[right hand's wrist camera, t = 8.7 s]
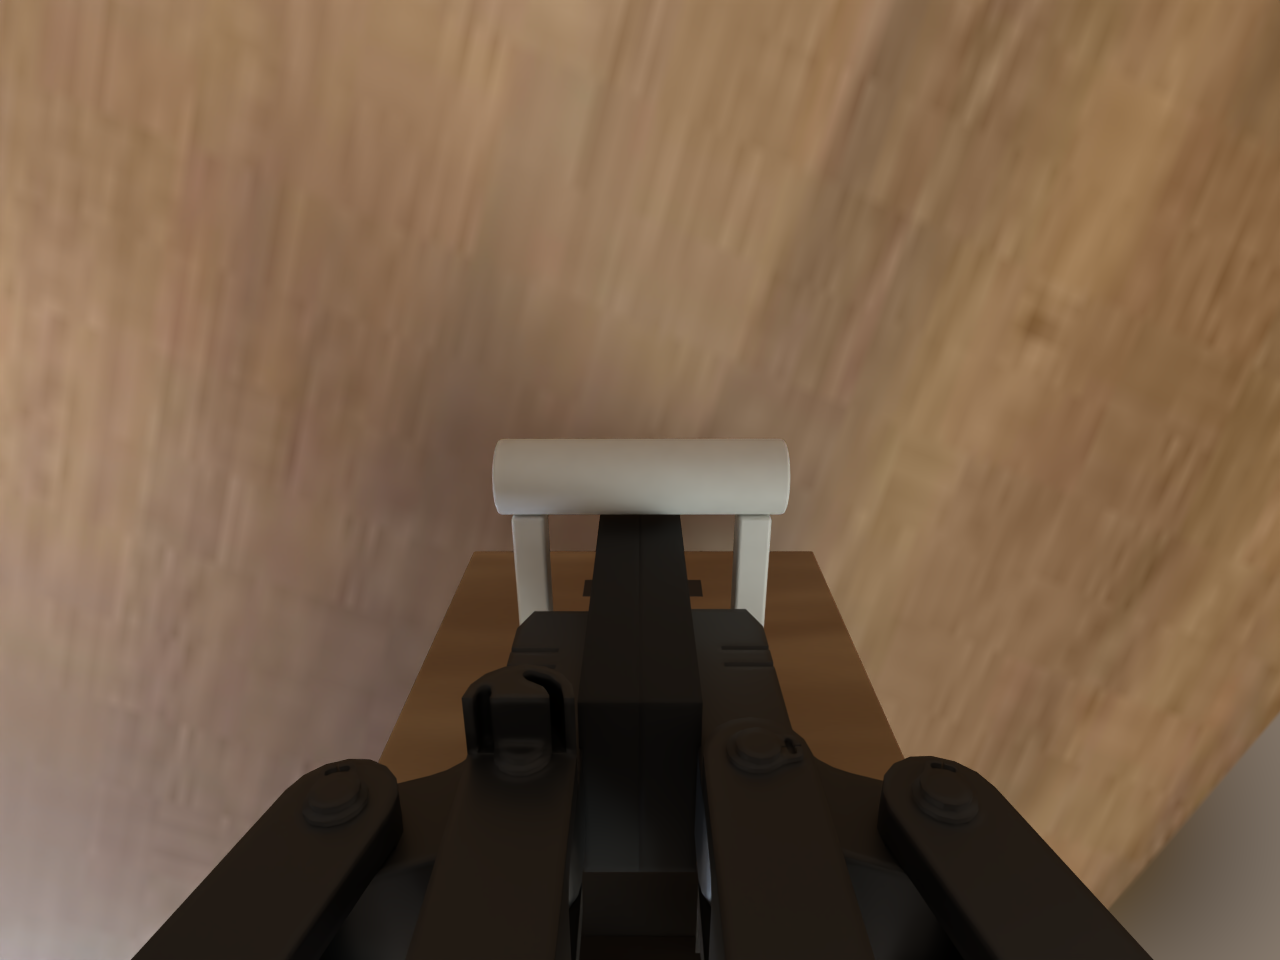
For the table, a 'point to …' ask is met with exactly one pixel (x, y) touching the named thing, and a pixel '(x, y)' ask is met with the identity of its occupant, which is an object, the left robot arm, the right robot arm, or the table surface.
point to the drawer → (740, 579)
